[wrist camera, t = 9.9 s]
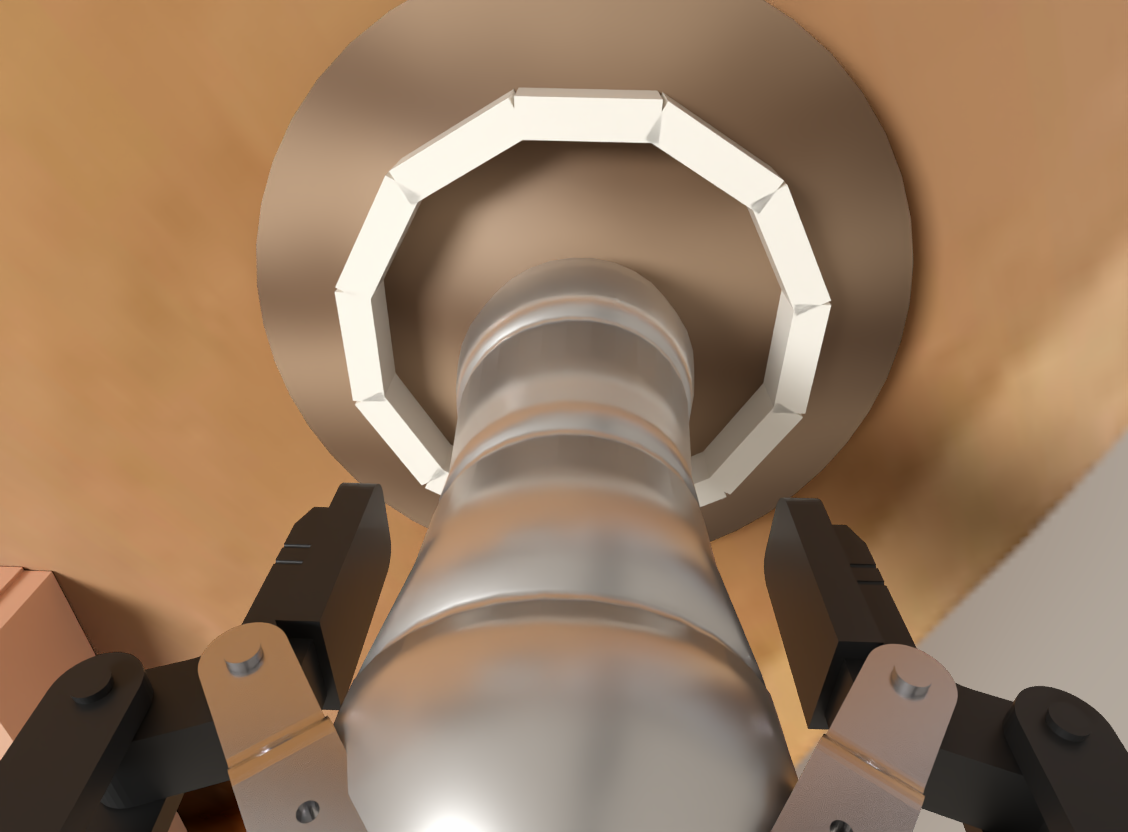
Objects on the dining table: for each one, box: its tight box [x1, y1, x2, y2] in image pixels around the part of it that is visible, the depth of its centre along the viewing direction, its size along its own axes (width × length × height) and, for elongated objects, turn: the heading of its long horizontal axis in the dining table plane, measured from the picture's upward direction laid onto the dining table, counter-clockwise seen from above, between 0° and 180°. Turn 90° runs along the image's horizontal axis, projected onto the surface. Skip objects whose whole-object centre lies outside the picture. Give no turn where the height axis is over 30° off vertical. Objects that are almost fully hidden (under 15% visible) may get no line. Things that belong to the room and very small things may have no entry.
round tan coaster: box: [256, 0, 913, 542], centre depth 22 cm, size 20×20×1 cm
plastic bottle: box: [333, 258, 798, 832], centre depth 13 cm, size 6×7×20 cm
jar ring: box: [335, 88, 831, 507], centre depth 21 cm, size 14×14×2 cm
